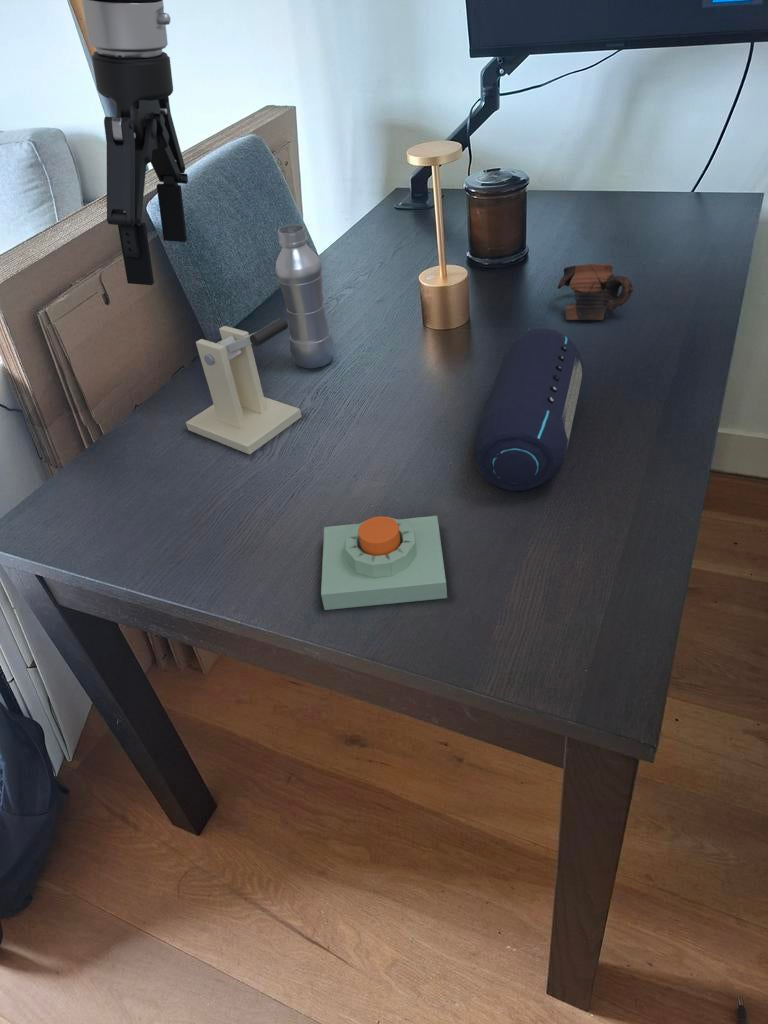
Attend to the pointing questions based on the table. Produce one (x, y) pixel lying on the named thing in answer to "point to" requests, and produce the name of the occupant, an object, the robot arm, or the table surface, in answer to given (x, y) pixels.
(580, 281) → the pottery mug
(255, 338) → the lever
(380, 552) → the button
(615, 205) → the table surface
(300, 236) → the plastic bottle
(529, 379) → the portable speaker
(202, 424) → the bracket
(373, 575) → the button block
